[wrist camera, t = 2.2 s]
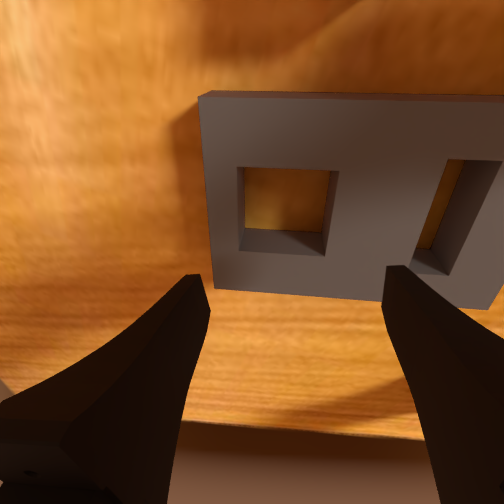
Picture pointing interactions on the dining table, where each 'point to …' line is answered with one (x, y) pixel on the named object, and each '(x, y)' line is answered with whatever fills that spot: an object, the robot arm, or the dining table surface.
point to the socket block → (359, 191)
